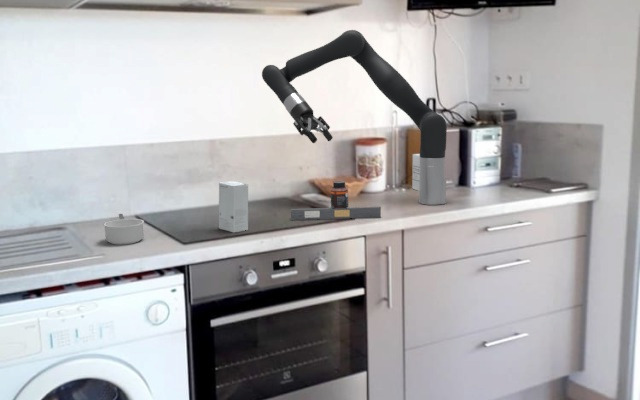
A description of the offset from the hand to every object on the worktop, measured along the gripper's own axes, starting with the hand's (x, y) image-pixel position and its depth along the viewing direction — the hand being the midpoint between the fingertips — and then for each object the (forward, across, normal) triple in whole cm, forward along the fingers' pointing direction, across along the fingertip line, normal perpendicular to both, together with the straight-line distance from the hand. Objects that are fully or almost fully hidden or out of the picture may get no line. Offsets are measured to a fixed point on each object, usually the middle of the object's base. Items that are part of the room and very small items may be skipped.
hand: (323, 140), depth 228 cm
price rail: (+28, -12, +7) cm, 31 cm away
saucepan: (+3, -71, +30) cm, 77 cm away
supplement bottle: (+26, -7, +9) cm, 28 cm away
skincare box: (+17, -44, +18) cm, 50 cm away
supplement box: (+24, +56, +12) cm, 62 cm away
